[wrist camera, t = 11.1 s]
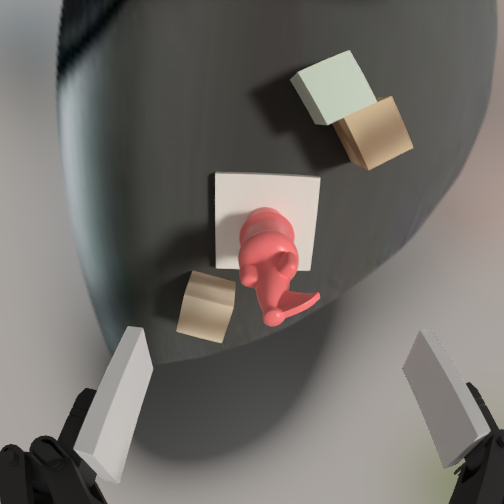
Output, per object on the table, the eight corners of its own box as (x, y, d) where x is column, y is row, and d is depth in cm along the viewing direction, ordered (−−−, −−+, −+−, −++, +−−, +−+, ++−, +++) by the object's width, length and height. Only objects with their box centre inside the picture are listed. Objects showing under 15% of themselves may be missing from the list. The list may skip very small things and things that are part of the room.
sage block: (289, 80, 25) (297, 71, 20) (333, 60, 24) (349, 50, 19) (315, 124, 27) (327, 125, 22) (357, 104, 26) (377, 102, 21)
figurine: (283, 193, 28) (313, 265, 15) (298, 240, 30) (331, 338, 17) (233, 209, 29) (216, 293, 15) (249, 254, 31) (248, 359, 18)
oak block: (328, 117, 26) (343, 117, 22) (370, 98, 25) (391, 96, 21) (350, 161, 28) (368, 170, 24) (390, 142, 27) (413, 147, 23)
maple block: (192, 270, 33) (184, 294, 29) (235, 281, 34) (233, 307, 29) (184, 305, 35) (176, 331, 31) (224, 315, 36) (221, 343, 31)
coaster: (216, 171, 29) (215, 173, 28) (318, 176, 29) (320, 177, 28) (216, 263, 33) (216, 268, 32) (308, 266, 33) (310, 270, 32)
